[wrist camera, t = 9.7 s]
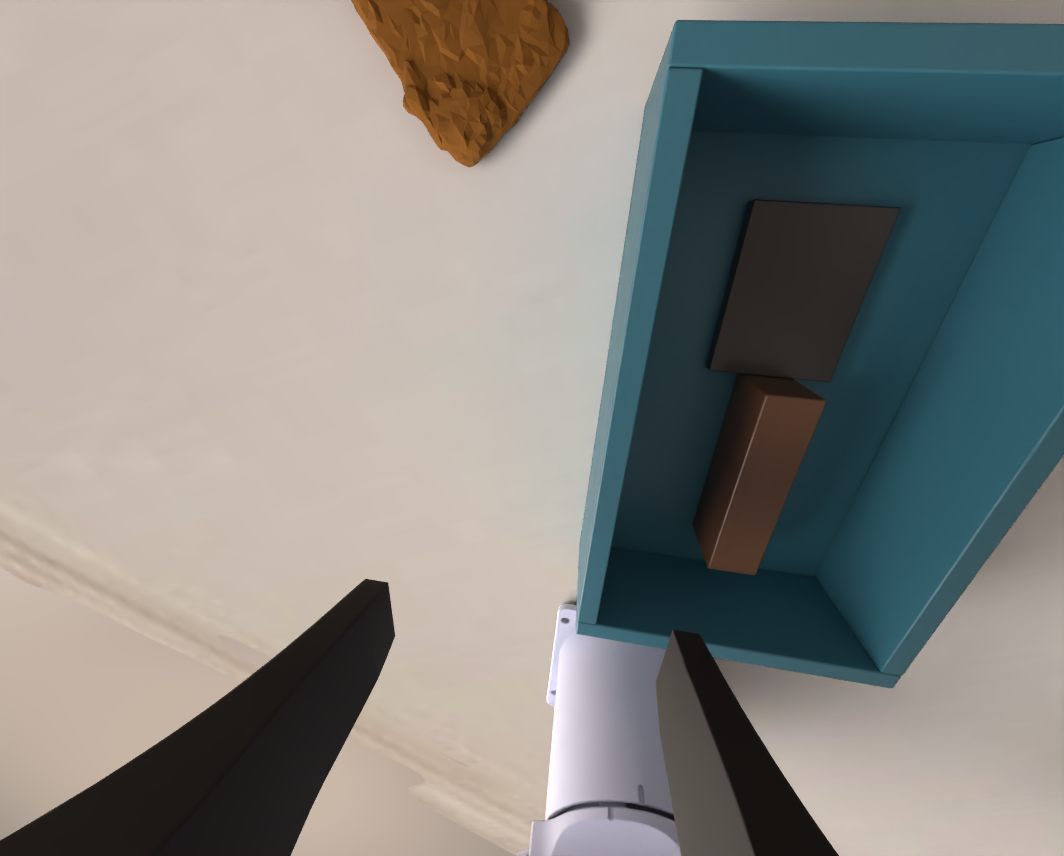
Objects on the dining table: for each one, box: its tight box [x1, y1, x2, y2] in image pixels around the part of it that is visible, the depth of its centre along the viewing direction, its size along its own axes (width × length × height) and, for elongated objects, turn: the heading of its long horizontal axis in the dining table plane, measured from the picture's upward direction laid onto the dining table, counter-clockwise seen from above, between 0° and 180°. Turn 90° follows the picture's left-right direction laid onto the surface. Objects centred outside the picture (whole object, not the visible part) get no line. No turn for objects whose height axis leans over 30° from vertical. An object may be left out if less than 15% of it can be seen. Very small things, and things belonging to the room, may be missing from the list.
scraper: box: [692, 199, 901, 575], centre depth 15 cm, size 14×5×3 cm, turn 176°
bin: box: [575, 20, 1064, 688], centre depth 14 cm, size 20×13×6 cm, turn 176°
